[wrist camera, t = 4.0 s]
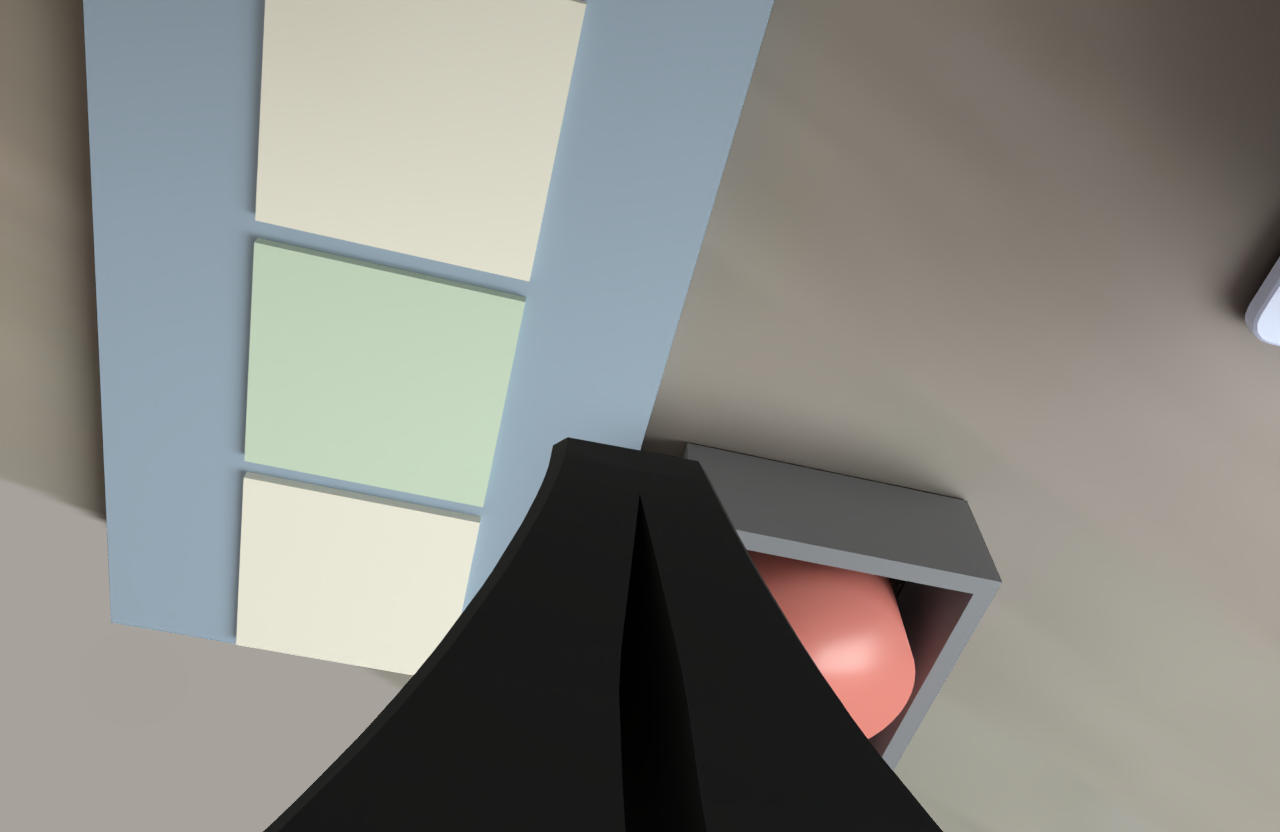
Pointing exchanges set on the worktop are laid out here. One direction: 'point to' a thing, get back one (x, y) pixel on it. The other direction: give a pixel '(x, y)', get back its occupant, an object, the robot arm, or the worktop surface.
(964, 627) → the button housing
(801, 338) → the worktop surface
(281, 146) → the board
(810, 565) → the button
